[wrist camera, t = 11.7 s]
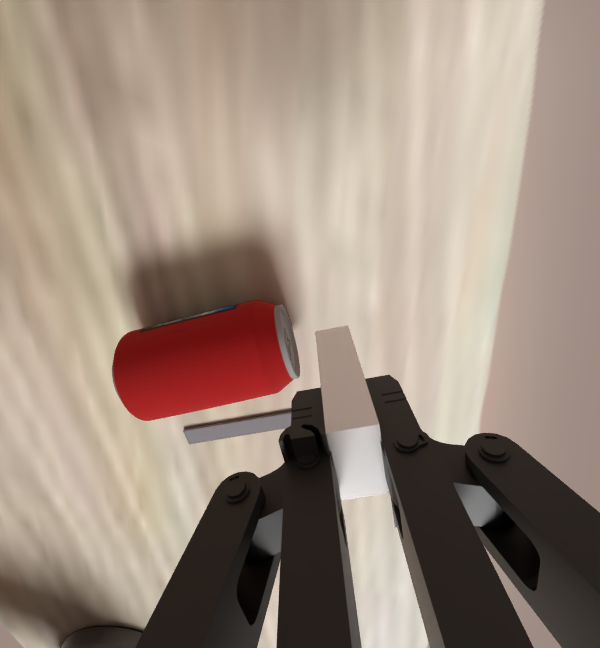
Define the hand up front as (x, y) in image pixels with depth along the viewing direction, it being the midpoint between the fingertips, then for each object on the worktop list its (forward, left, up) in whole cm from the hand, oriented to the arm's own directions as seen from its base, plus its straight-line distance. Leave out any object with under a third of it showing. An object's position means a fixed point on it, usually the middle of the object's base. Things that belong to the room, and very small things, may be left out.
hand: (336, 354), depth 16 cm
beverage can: (-15, -3, -8) cm, 17 cm away
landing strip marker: (-6, -12, -11) cm, 17 cm away
